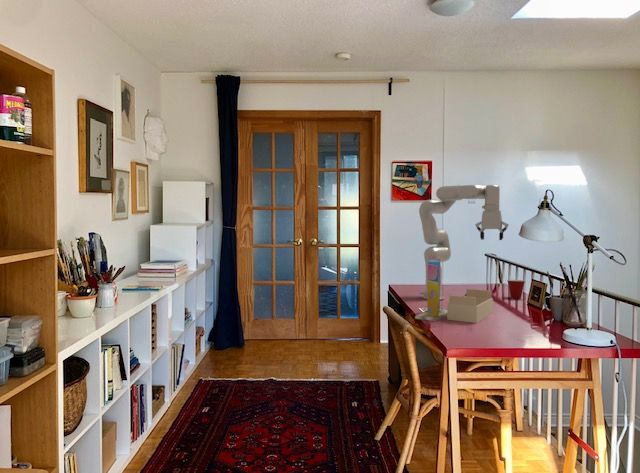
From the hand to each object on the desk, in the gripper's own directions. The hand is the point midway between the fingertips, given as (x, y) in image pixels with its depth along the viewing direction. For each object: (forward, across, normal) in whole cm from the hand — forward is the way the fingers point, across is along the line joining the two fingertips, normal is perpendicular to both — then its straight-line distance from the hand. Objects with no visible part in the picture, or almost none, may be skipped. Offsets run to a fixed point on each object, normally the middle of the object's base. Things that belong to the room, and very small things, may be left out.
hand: (491, 239), depth 278 cm
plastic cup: (+38, +3, +47) cm, 61 cm away
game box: (+37, -20, -32) cm, 53 cm away
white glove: (+38, -20, -32) cm, 54 cm away
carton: (+38, -4, -23) cm, 45 cm away
